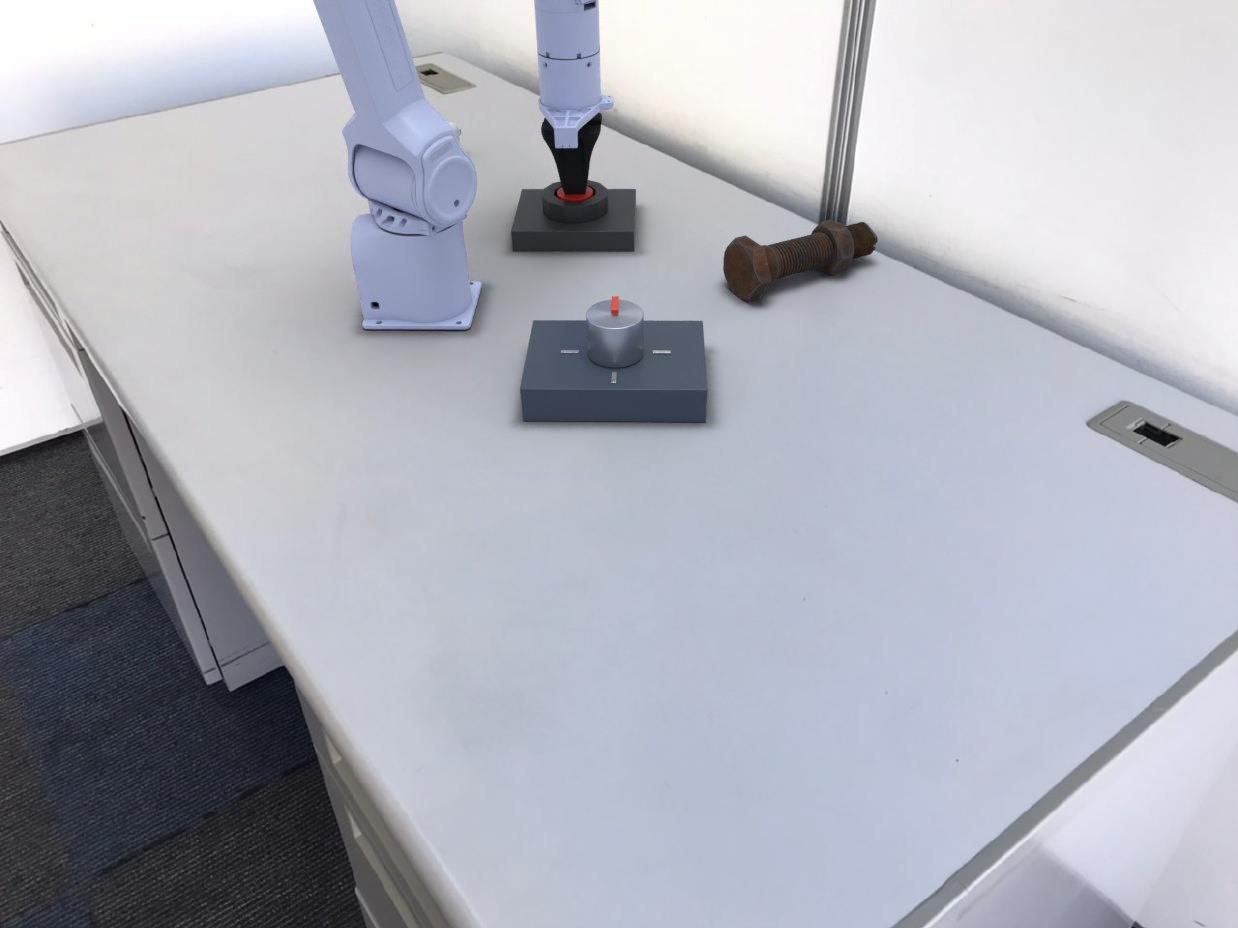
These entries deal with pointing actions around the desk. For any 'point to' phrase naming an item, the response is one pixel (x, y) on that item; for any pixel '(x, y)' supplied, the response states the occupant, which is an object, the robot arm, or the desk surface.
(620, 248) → the button base
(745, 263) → the bolt
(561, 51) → the robot arm
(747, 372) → the desk surface
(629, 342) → the rotary knob
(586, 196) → the button
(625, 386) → the valve panel
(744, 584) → the desk surface
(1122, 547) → the desk surface
